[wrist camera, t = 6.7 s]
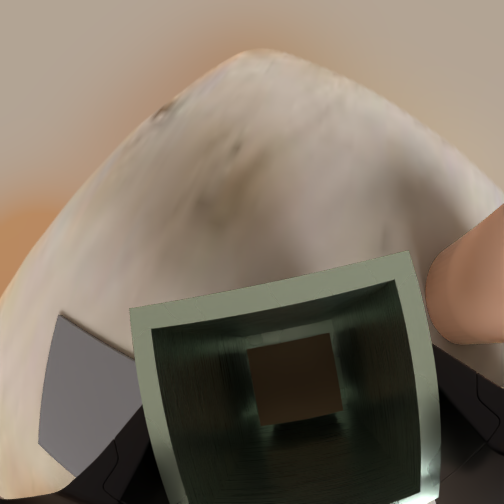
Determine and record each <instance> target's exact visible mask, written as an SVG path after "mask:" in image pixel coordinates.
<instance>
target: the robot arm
mask: <svg viewBox="0 0 504 504" xmlns="http://www.w3.org/2000/svg"><path fill="white" fill-rule="evenodd" d="M432 348H433V354H434V361H435V368H436V375H437V384H438V394H439V406H440V423H441V469H440V485H439V496H438V498H436V499H435V501H436V504H504V389H503V388H502V387H500V386H498V385H496V384H495V383H493V382H491V381H490V380H488V379H487V378H485V377H484V376H482V375H480V374H479V373H477V374H476V371H474V370H473V369H471V368H470V367H468V366H467V365H465V364H463V363H462V362H460V361H459V360H457V359H456V358H454V357H453V356H451V355H450V354H448V353H446V352H445V351H443V350H442V349H440V348H439V347H437V346H436V345H434V344H432ZM0 504H170V503H169V500H168V497H167V494H166V491H165V488H164V485H163V482H162V479H161V476H160V473H159V469H158V466H157V462H156V459H155V455H154V452H153V448H152V444H151V440H150V436H149V432H148V428H147V423H146V419H145V414H144V409H143V404H142V405H141V406H140V407H139V409H138V410H137V411H136V412H135V414H134V415H133V416H132V417H131V418H130V420H129V421H128V422H127V423H126V424H125V426H124V427H123V428H122V429H121V430H120V432H119V433H118V434H117V435H116V436H115V438H114V439H113V440H112V441H111V442H110V443H109V445H108V446H107V447H106V448H105V449H104V450H103V451H102V453H101V454H100V455H99V456H98V457H97V458H96V459H95V460H94V461H93V462H92V463H91V464H90V465H89V466H88V467H87V468H86V469H85V470H84V471H83V472H82V473H81V474H79V475H78V476H77V477H76V478H75V479H74V480H73V481H72V482H71V483H70V484H69V485H67V486H66V487H65V488H63V489H62V490H60V491H58V492H55V493H51V494H46V495H40V496H34V497H27V498H19V499H4V498H2V497H0Z"/></svg>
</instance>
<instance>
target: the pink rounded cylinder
mask: <svg viewBox="0 0 504 504" xmlns="http://www.w3.org/2000/svg"><path fill="white" fill-rule="evenodd" d="M425 293H426V304H427V309H428V313H429V316H430V318H431V321H432V323H433V325H434V326H435V328H436V329H437V331H438V332H439V333H440V334H441V335H442V336H443V337H444V338H445V339H447V340H448V341H450V342H452V343H455V344H461V345H467V344H488V343H503V342H504V204H502V205H501V206H500V207H499V208H498V209H497V210H495V211H494V212H493V213H492V214H490V215H489V216H488V217H487V218H486V219H484V220H483V221H482V222H481V223H479V224H478V225H477V226H475V227H474V228H473V229H472V230H470V231H469V232H468V233H466V234H465V235H464V236H462V237H461V238H460V239H458V240H457V241H456V242H454V243H453V244H451V245H450V246H449V247H447V248H446V249H444V250H443V251H442V252H441V253H440V254H439V255H438V256H437V257H436V258H435V260H434V261H433V263H432V265H431V267H430V269H429V272H428V276H427V280H426V289H425Z"/></svg>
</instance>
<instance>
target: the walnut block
mask: <svg viewBox="0 0 504 504" xmlns="http://www.w3.org/2000/svg"><path fill="white" fill-rule="evenodd" d="M247 354H248V360H249V365H250V371H251V376H252V382H253V387H254V392H255V398H256V403H257V408H258V414H259V419H260V424H261V426H265V425H273V424H279V423H286V422H292V421H298V420H303V419H308V418H313V417H318V416H322V415H327V414H331V413H335V412H339V411H343V406H342V399H341V393H340V387H339V381H338V376H337V370H336V364H335V359H334V354H333V348H332V343H331V338H330V333H325V334H320V335H316V336H311V337H307V338H302V339H298V340H293V341H288V342H283V343H278V344H272V345H267V346H261V347H256V348H251V349H247Z"/></svg>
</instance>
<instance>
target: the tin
mask: <svg viewBox="0 0 504 504" xmlns="http://www.w3.org/2000/svg"><path fill="white" fill-rule="evenodd" d="M129 310H130V322H131V332H132V341H133V349H134V356H135V364H136V370H137V377H138V383H139V388H140V394H141V399H142V404H143V409H144V414H145V419H146V423H147V428H148V432H149V436H150V440H151V444H152V448H153V452H154V455H155V459H156V462H157V466H158V469H159V473H160V476H161V479H162V482H163V485H164V488H165V491H166V494H167V497H168V500H169V503H170V504H426V503H428V502H430V501H432V500H434V499H436V498H438V496H439V485H440V469H441V423H440V406H439V394H438V384H437V375H436V368H435V361H434V354H433V348H432V342H431V337H430V331H429V326H428V321H427V317H426V312H425V308H424V304H423V299H422V295H421V291H420V287H419V284H418V280H417V276H416V273H415V269H414V266H413V263H412V259H411V256H410V253H409V250H407V251H403V252H399V253H395V254H391V255H387V256H383V257H379V258H375V259H371V260H367V261H363V262H359V263H355V264H350V265H346V266H342V267H338V268H333V269H329V270H325V271H320V272H316V273H311V274H307V275H302V276H298V277H293V278H288V279H284V280H279V281H274V282H270V283H265V284H260V285H255V286H250V287H245V288H240V289H235V290H230V291H225V292H220V293H215V294H209V295H204V296H199V297H193V298H188V299H182V300H177V301H171V302H165V303H159V304H154V305H148V306H142V307H136V308H129ZM325 333H330V338H331V343H332V348H333V354H334V359H335V364H336V370H337V376H338V381H339V387H340V393H341V399H342V406H343V411H339V412H335V413H331V414H327V415H322V416H318V417H313V418H308V419H303V420H298V421H292V422H286V423H279V424H273V425H265V426H261V424H260V419H259V414H258V408H257V403H256V398H255V392H254V387H253V382H252V376H251V371H250V365H249V360H248V354H247V349H251V348H256V347H261V346H267V345H272V344H278V343H283V342H288V341H293V340H298V339H302V338H307V337H311V336H316V335H320V334H325Z"/></svg>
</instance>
